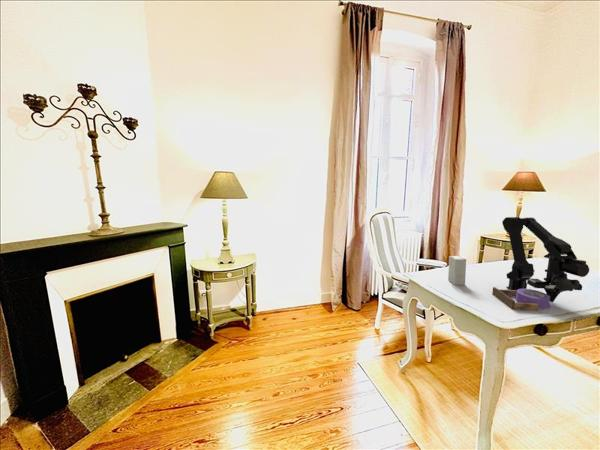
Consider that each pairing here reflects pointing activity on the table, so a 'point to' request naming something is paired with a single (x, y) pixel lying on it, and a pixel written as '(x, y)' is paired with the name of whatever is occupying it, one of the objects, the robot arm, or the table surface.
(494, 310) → the table surface
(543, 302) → the tape roll
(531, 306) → the brown flat open tray
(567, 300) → the table surface
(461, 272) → the skincare box
